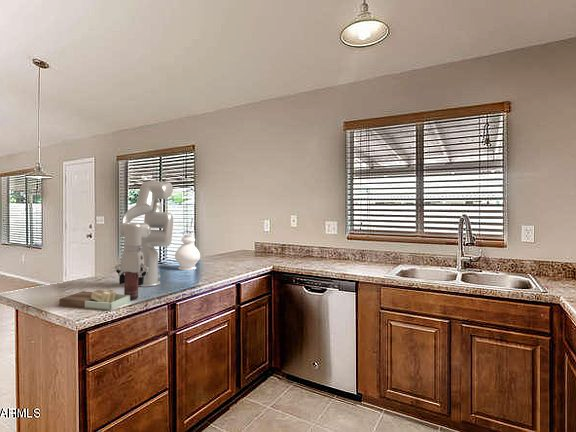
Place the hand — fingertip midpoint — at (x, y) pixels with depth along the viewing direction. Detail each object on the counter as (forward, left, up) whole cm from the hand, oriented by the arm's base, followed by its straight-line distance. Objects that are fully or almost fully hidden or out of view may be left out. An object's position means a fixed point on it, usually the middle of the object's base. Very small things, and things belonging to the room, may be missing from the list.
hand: (131, 284), depth 163 cm
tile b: (+10, -6, -4) cm, 12 cm away
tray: (+10, -4, -7) cm, 13 cm away
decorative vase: (-82, -8, -8) cm, 82 cm away
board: (+10, -17, -7) cm, 21 cm away
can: (-1, 0, -8) cm, 8 cm away
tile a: (+11, -9, -5) cm, 15 cm away
